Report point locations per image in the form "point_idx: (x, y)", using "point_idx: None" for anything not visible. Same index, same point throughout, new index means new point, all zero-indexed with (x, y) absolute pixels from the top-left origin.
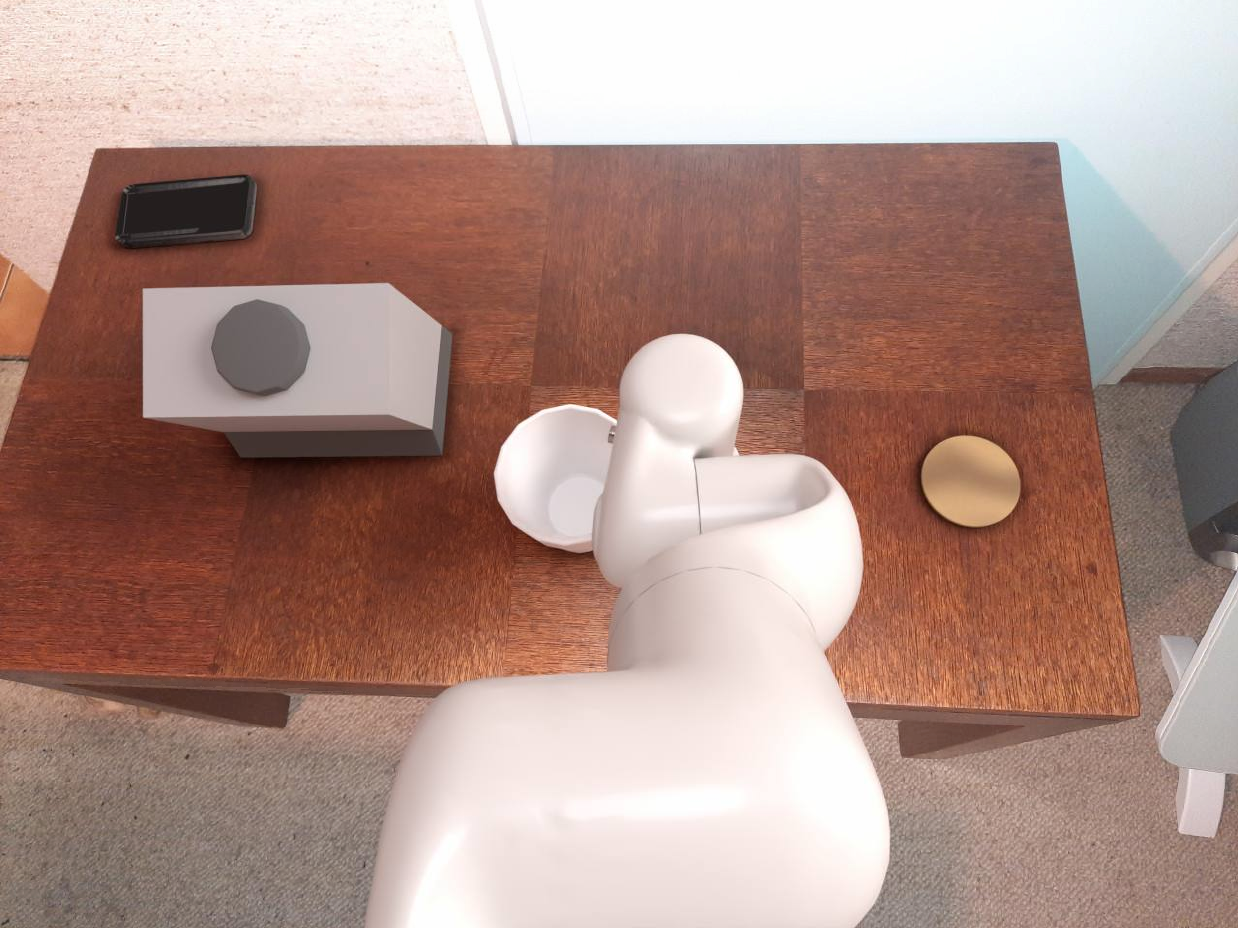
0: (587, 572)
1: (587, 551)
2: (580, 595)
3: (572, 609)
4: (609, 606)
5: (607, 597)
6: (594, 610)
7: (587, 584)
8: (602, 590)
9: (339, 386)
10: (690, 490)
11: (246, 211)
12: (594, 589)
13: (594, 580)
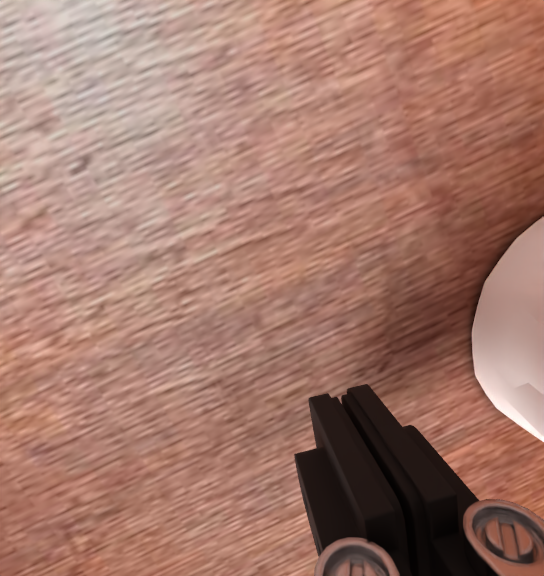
0: (520, 160)
1: (542, 219)
2: (520, 78)
3: (532, 20)
4: (426, 82)
5: (441, 109)
6: (466, 47)
7: (510, 123)
8: (462, 124)
9: None
10: None
11: None
12: (486, 117)
13: (494, 145)
